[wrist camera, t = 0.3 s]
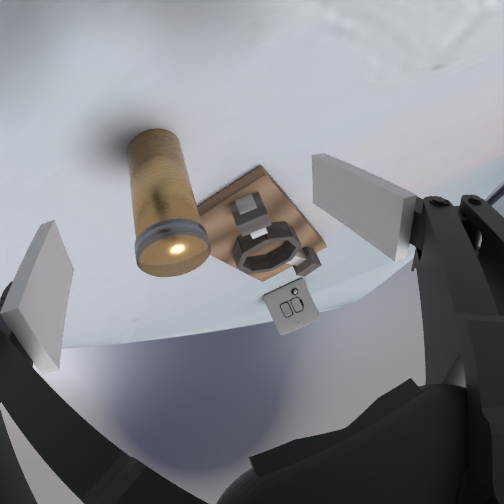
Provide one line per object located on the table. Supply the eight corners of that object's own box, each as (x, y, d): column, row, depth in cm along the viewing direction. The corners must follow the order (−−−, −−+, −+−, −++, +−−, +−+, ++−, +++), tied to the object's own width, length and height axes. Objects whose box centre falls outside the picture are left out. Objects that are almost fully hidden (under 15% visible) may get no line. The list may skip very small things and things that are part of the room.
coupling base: (170, 224, 38) (177, 257, 36) (261, 165, 34) (276, 196, 32) (259, 274, 58) (268, 297, 56) (323, 239, 54) (334, 262, 52)
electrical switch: (302, 276, 65) (319, 317, 62) (306, 281, 70) (323, 319, 66) (261, 294, 67) (277, 335, 63) (268, 298, 72) (283, 336, 68)
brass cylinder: (121, 134, 25) (129, 246, 19) (180, 122, 26) (211, 228, 20) (131, 176, 29) (145, 284, 24) (184, 165, 31) (212, 268, 25)
